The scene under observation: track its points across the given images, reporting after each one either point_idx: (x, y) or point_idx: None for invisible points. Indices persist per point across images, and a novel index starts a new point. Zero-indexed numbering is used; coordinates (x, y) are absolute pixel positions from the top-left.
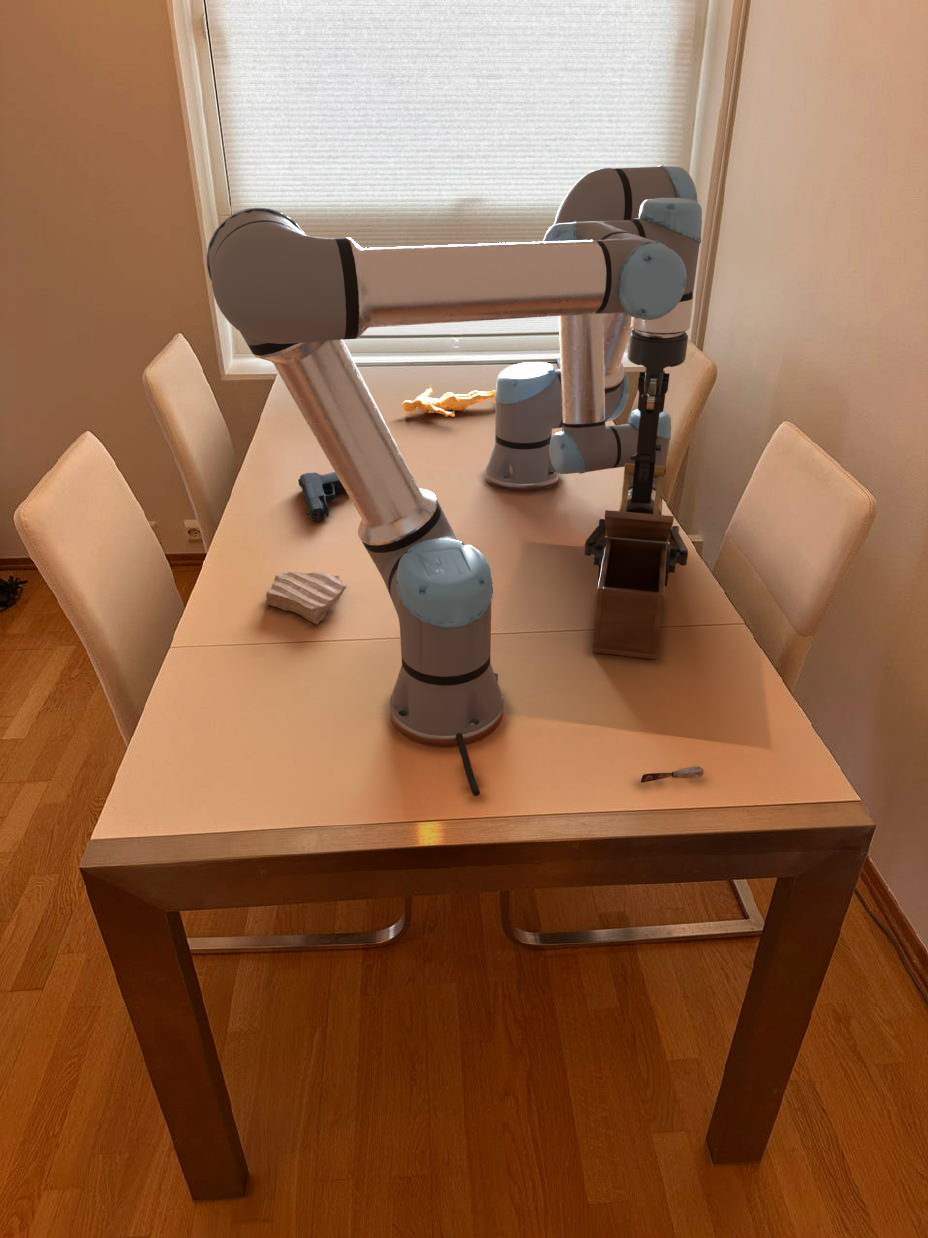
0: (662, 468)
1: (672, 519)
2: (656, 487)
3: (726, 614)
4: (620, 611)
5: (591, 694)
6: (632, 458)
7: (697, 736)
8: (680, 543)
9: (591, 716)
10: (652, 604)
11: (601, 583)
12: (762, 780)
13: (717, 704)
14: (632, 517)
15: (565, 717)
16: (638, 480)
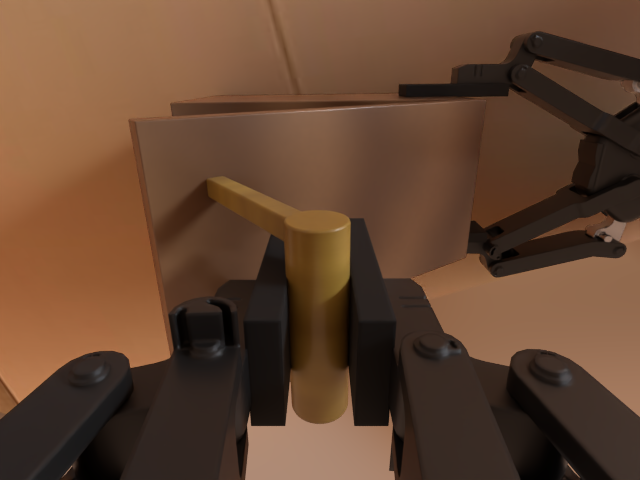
0: (304, 412)
1: None
2: None
3: None
4: None
5: (94, 109)
6: (180, 316)
7: (61, 267)
8: (534, 261)
9: (36, 115)
10: None
11: (198, 110)
12: (12, 336)
13: (144, 292)
14: (149, 230)
15: (13, 71)
16: (218, 290)
